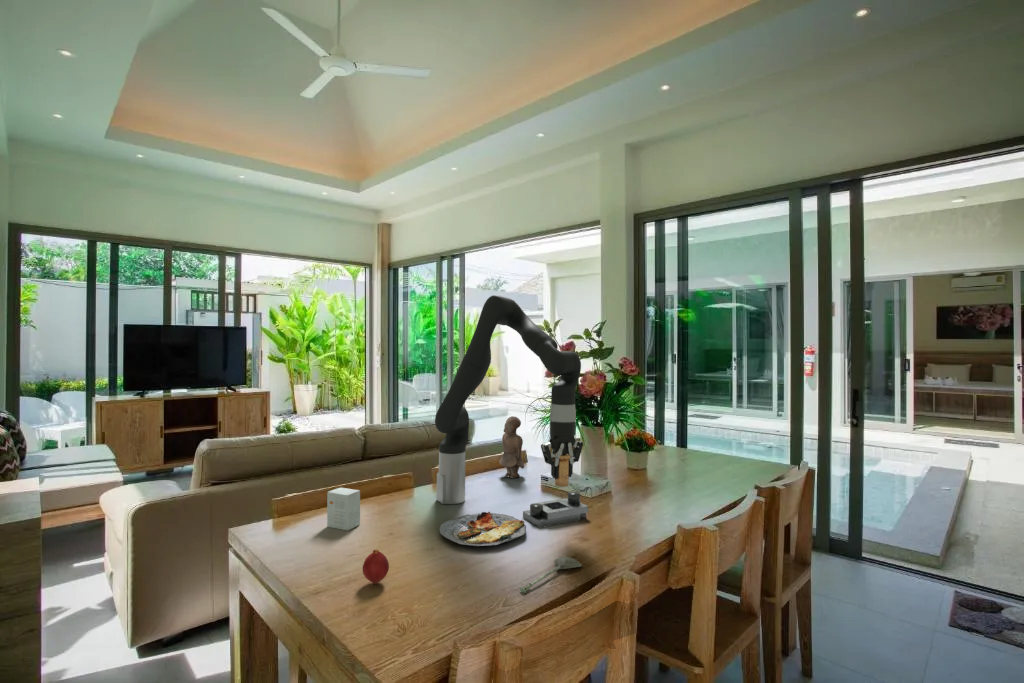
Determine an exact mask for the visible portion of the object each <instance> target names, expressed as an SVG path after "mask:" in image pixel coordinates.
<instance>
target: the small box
mask: <svg viewBox="0 0 1024 683" xmlns="http://www.w3.org/2000/svg"><path fill="white" fill-rule="evenodd" d="M326 497H327V498H326V499H327V500H326V502H327V503H326V506H327V507H326V508H327V510H326V516H327V517H326V519H327V520H326V526H327V527H328V528H333V529H338V530H343V531H350V530H352V529H353V528H355V527H358V526H360V525H361V490H359V489H354V488H353V489H351V488H348V487H347V488H346V487H341V486H340V487H338V488H334V489H332V490H329V491H327V496H326Z"/></svg>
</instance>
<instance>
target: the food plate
mask: <svg viewBox="0 0 1024 683" xmlns="http://www.w3.org/2000/svg"><path fill="white" fill-rule="evenodd" d="M462 525H463V526H465V527H467V529H468V530H465V531H463V530H460V529H461V528H462V527H463V526H462ZM526 528H527V525H526V524H525V521H524V520H523V519H521V520H520V519H518V518H516V517H514V516H511V515H509V514H508V515H507V514H504V513H503V514H502V513H501V514H500V513H494V512H491V511H488V512H487V511H481V513H475V514H474V513H473V514H470V513H469V514H466V515H461V516H458V517H455V518H451V519H450V520H446V521H445V522H442V523H441V524H440V527H439V533H440V535H441V536H443V537H444V538H446V539H447V540H449V541H451V542H454V543H457V544H459V545H464V546H465V545H466V546H471V547H475V548H479V547H481V546H482V547H483V546H484V547H485V546H497V545H500V544H503V543H505V542H509V541H512V540H514V539H517V538H519V537H522V536H523V535H525V534H526V532H527V531H526V530H527V529H526ZM458 530H459V531H460V532H459V533H458V532H457V531H458ZM490 530H491V531H490ZM454 533H456V535H455V534H454ZM481 533H484V534H481ZM480 534H481V535H480ZM471 537H472V538H471ZM473 537H475V538H473ZM468 538H469V539H468ZM461 539H462V540H461ZM464 539H465V541H464Z"/></svg>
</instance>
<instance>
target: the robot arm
mask: <svg viewBox="0 0 1024 683" xmlns="http://www.w3.org/2000/svg"><path fill="white" fill-rule="evenodd" d="M497 325H501V326H507V327H509V328H511V329H512V330H514V331H515V332H516V333H518V334H519V335H520V337H521V339H522V341H523V343H524V345H526V347H527V348H528V349H529V350H530V351H531V352H533V354H534V355H536V356H537V357H538V358H539V359H540V361H541V363H542V364H543V366H544V368H545V369H546V370H547V371H548V372H549V373H551V374H552V375H555V376H560V377H559V380H558V382H557V383H554V384H553V385H552V386H551V392H550V393H551V395H550V398H551V399H550V400H551V402H550V403H551V404H550V411H549V435H550V437H549V440H548V442H547V443H542V444H540V449H541V452H542V456H543V459H544V463H545V464H548V465H549V466H551V467H550V475H551V477H552V478H553V479H554V480H555V479H558V470H559V466H558V463H559V459H558V458H560V456H561V454H568V455H571V458H570V459H569V478H571V477H572V475H573V474H574V473H573V471H574V469H573V467H574V463H578V462H579V461H580V457H581V454H582V450H583V446H584V442H582V441H579V440H576V437H575V435H576V431H577V430H576V422H577V421H576V418H577V416H576V415H577V411H576V389H577V387H578V383H579V378H580V375H581V370H582V362H581V358H580V356H579V354H578V353H577V352H575V351H573V350H572V351H571V350H568V351H567V350H564V351H563V350H562V351H561V350H558V343H557V342H556V340H555V339H554V338H553V337H551V336H550V335H549V334H548V333H546V332H545V331H544V330H543V329H542V328H540V327H539V326H538V325H537V324H536V323H534V322H533V320H532V319H531V318H530V317H529V316H528V315H527V314H526V313H525V312H524V311H523V309H522V308H521V307H520V305H519V304H518V303H517V302H516V301H515V300H514V299H511V298H508V297H505V296H502V295H498V294H492V295H490V296H489V297H488V298H487V299H486V300H485V301H484V304H483V306H482V309H481V312H480V315H479V318H478V320H477V324H476V326H475V330H474V333H473V335H472V337H471V340H470V342H469V345H468V346H467V350H466V352H465V354H464V355H463V357H462V360H461V362H460V365H459V366H458V370H457V373H456V374H455V375H454V376H455V377H454V379H453V381H452V383H451V385H450V388H449V389H448V392H447V394H446V395H445V397H444V399H443V400H442V402H441V404H440V405H439V407H438V409H437V411H436V414H435V417H434V424H435V425H434V426H435V428H436V430H437V431H439V433H443V434H445V436H444V438H443V439H442V440H441V441H440V442H439V444H438V446H439V447H438V472H436V496H435V497H436V499H435V500H436V501H437V502H439V503H440V504H441V505H456V504H462V503H465V501H466V451H467V450H466V448H467V445H468V441H469V431H470V416H469V411H468V410H467V409H466V407H465V406H464V405H465V403H466V402H467V400H468V399H469V397H470V396H471V395H472V393H474V392H475V390H476V389H477V388H478V387H479V386H480V385H481V383H482V382H483V380H484V378H485V377H486V375H487V373H488V370H489V369H490V368H489V367H490V366H491V364H492V351H491V350H492V349H491V341H492V336H493V334H494V331H495V328H496V327H497ZM551 449H552V450H551ZM556 453H557V455H555V454H556ZM554 457H555V458H554Z"/></svg>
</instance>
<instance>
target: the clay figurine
mask: <svg viewBox="0 0 1024 683" xmlns="http://www.w3.org/2000/svg"><path fill="white" fill-rule="evenodd" d="M521 425H522V422H521V420H520V418H519V417H517V416H509V417H507V419H506V420H505V423H504V427H503V428H504V429H503V434H502V450H503V454H502V456H501V458H500V459H499V461H498V463H499V465H501V466H502V467H505V469H506V473H505V475H504V476H509V477H510V478H509V479H516V478H519V477H520V476H521V475H520V474H519V473H518V472H519V469H520V468H521V469H524V468H525V464H524V461H523V458H522V448H523V444H524V443H523V442H524V440H523V438H522V436H520V434H519V435H518V433H517V430H518V429H519V428H520V427H521ZM515 477H516V478H515Z"/></svg>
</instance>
